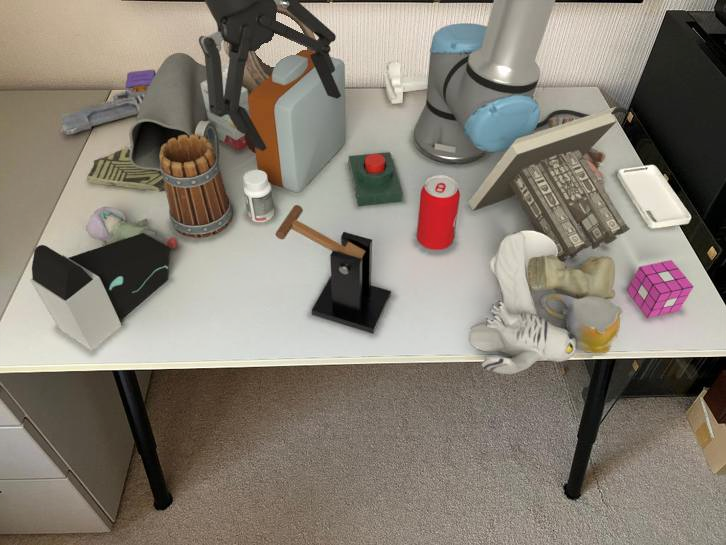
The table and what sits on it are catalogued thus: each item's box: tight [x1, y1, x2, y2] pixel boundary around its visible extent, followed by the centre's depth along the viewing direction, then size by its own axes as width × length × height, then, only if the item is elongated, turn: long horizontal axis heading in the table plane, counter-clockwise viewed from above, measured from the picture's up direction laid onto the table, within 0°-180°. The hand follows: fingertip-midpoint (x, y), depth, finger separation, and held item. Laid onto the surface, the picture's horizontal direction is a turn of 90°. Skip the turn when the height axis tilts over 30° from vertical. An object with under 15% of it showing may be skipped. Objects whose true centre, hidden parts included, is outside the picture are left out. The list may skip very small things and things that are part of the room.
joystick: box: [383, 60, 428, 105], centre depth 134 cm, size 11×8×20 cm
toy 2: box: [468, 231, 577, 375], centre depth 88 cm, size 24×13×15 cm
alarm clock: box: [248, 50, 347, 193], centre depth 112 cm, size 18×9×21 cm, turn 152°
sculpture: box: [528, 254, 616, 300], centre depth 93 cm, size 6×7×15 cm
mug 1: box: [159, 120, 233, 239], centre depth 105 cm, size 16×11×15 cm
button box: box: [348, 151, 404, 207], centre depth 115 cm, size 8×12×4 cm, turn 9°
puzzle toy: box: [627, 259, 694, 319], centre depth 95 cm, size 6×6×6 cm
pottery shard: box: [86, 147, 166, 192], centre depth 115 cm, size 11×16×2 cm, turn 49°
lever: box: [275, 204, 365, 259], centre depth 88 cm, size 12×6×2 cm, turn 69°
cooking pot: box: [223, 5, 317, 94], centre depth 131 cm, size 25×19×12 cm
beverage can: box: [416, 174, 461, 251], centre depth 102 cm, size 6×6×12 cm
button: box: [365, 153, 385, 173], centre depth 113 cm, size 4×4×2 cm
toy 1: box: [86, 206, 178, 250], centre depth 103 cm, size 11×5×15 cm
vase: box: [128, 52, 208, 172], centre depth 121 cm, size 12×12×30 cm
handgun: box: [60, 69, 157, 136], centre depth 131 cm, size 3×22×15 cm
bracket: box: [311, 231, 392, 335], centre depth 91 cm, size 10×8×13 cm
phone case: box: [616, 164, 692, 230], centre depth 113 cm, size 7×1×15 cm
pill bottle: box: [242, 169, 276, 223], centre depth 107 cm, size 5×5×8 cm
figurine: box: [547, 116, 606, 191], centre depth 119 cm, size 7×5×20 cm
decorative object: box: [29, 233, 171, 352], centre depth 91 cm, size 8×18×15 cm, turn 147°
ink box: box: [200, 76, 250, 151], centre depth 121 cm, size 9×5×12 cm, turn 48°
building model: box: [467, 106, 631, 263], centre depth 103 cm, size 20×20×18 cm
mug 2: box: [539, 291, 623, 354], centre depth 91 cm, size 12×7×7 cm, turn 50°
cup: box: [489, 230, 558, 287], centre depth 98 cm, size 8×10×7 cm
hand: (298, 121), depth 90 cm, fingers open, 13 cm apart
